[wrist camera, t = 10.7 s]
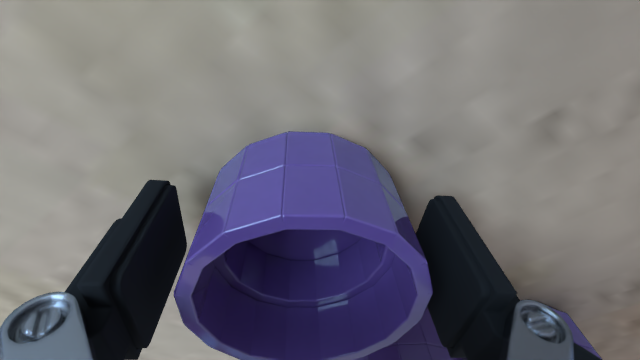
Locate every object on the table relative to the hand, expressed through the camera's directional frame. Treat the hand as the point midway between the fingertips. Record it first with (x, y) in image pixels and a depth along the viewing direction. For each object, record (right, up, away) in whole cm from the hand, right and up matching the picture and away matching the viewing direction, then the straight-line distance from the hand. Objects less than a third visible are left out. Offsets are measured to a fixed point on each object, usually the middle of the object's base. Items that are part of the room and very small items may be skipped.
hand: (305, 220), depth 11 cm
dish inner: (0, 0, +1) cm, 1 cm away
